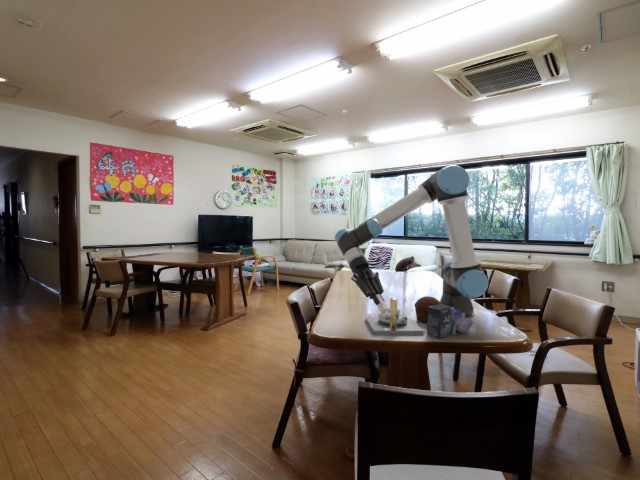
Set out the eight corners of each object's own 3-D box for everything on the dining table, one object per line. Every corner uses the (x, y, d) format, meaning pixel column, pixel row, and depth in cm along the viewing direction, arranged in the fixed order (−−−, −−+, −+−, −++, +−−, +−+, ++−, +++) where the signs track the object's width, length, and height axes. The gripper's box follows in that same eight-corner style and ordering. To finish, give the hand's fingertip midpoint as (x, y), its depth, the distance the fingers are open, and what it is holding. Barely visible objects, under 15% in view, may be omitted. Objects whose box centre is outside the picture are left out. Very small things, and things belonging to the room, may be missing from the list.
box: (439, 339, 114) (440, 309, 113) (426, 335, 119) (427, 306, 118) (453, 335, 118) (454, 306, 118) (440, 331, 123) (441, 303, 122)
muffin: (442, 327, 128) (443, 301, 128) (413, 324, 132) (414, 299, 131) (441, 318, 139) (442, 295, 139) (414, 316, 143) (415, 293, 142)
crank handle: (378, 316, 135) (379, 289, 134) (406, 318, 132) (406, 291, 132) (377, 328, 119) (378, 298, 118) (409, 330, 117) (409, 300, 116)
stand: (408, 320, 136) (408, 317, 136) (423, 334, 119) (423, 330, 119) (365, 320, 135) (365, 317, 135) (374, 334, 118) (374, 330, 118)
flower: (467, 321, 113) (464, 303, 122) (442, 327, 118) (442, 309, 126) (478, 340, 116) (474, 321, 124) (454, 345, 120) (452, 326, 128)
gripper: (364, 265, 139) (392, 314, 126) (339, 267, 132) (366, 319, 119) (373, 254, 134) (402, 303, 121) (348, 255, 127) (376, 307, 114)
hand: (384, 311), depth 120 cm, fingers closed
